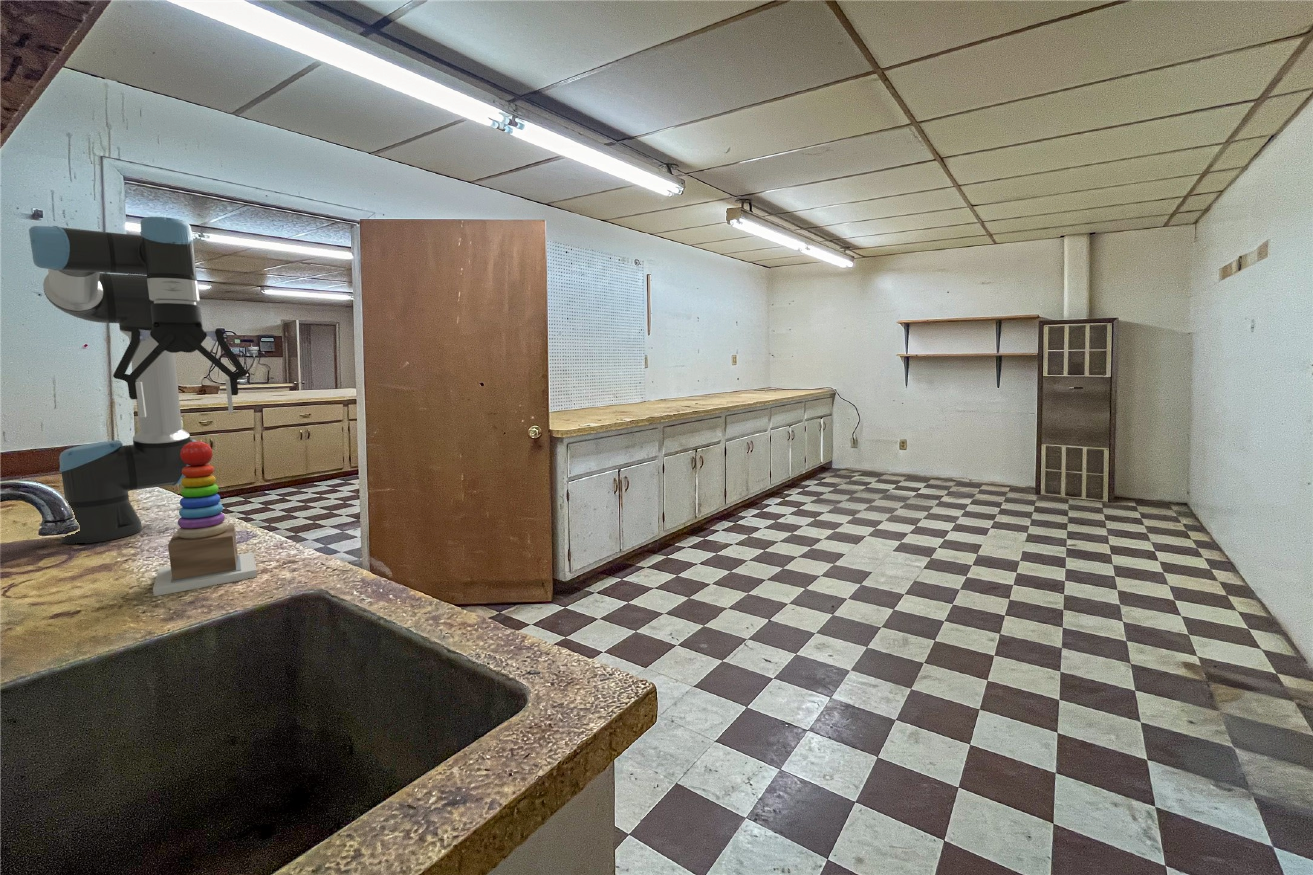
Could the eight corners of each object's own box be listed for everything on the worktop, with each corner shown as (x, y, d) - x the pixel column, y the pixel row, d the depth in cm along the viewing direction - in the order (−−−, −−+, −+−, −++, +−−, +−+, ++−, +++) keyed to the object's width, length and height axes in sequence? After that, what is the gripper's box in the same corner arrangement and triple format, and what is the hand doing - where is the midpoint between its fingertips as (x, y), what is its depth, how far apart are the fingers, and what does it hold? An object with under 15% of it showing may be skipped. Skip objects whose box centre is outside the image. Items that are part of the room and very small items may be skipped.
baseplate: (160, 574, 123) (158, 566, 122) (254, 558, 132) (253, 551, 132) (153, 596, 111) (152, 587, 111) (257, 576, 121) (256, 568, 120)
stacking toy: (201, 541, 116) (190, 444, 113) (167, 539, 117) (155, 444, 115) (237, 529, 124) (227, 439, 121) (204, 527, 125) (194, 438, 123)
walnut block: (178, 565, 123) (174, 532, 122) (237, 556, 128) (234, 524, 127) (172, 580, 115) (167, 545, 114) (236, 569, 120) (232, 535, 119)
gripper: (82, 299, 104) (99, 420, 107) (254, 304, 119) (265, 411, 122) (90, 302, 110) (105, 417, 113) (253, 307, 125) (263, 409, 128)
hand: (188, 414), depth 117 cm, fingers open, 13 cm apart
